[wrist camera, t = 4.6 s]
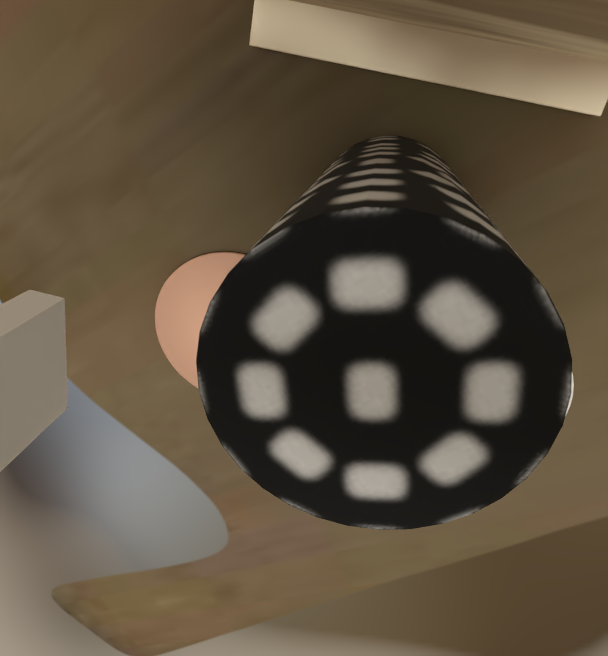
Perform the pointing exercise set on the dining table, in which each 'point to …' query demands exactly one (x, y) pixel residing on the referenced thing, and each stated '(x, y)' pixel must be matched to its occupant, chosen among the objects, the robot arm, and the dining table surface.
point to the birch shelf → (455, 43)
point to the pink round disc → (189, 307)
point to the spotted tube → (385, 349)
